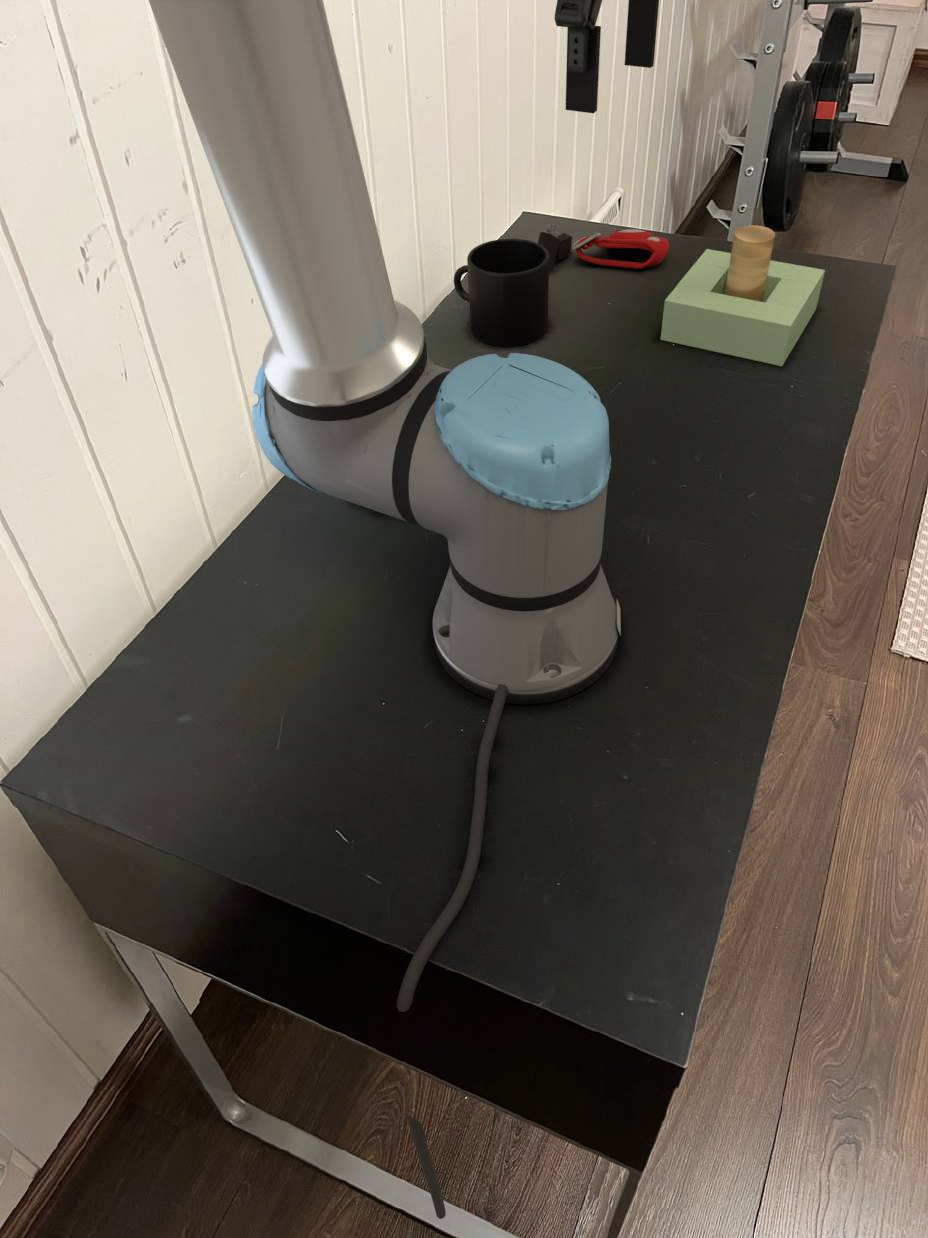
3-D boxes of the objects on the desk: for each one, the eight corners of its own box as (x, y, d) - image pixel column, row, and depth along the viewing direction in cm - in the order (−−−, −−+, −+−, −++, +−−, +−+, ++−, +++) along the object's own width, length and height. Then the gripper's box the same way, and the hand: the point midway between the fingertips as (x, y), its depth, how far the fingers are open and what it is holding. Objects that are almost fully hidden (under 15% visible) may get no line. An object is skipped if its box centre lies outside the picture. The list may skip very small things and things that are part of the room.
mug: (473, 300, 120) (470, 229, 113) (560, 317, 116) (562, 245, 109) (438, 334, 114) (432, 262, 108) (528, 354, 110) (528, 280, 103)
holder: (782, 366, 105) (790, 325, 102) (660, 339, 111) (664, 299, 107) (816, 309, 114) (825, 269, 110) (701, 287, 119) (706, 248, 116)
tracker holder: (629, 225, 130) (685, 229, 123) (627, 260, 132) (682, 265, 125) (564, 230, 124) (620, 235, 116) (563, 266, 126) (617, 272, 118)
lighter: (551, 272, 129) (561, 232, 127) (564, 275, 128) (575, 235, 126) (527, 261, 122) (538, 219, 120) (541, 264, 121) (552, 222, 120)
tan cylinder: (751, 336, 110) (768, 244, 102) (715, 329, 112) (729, 237, 104) (762, 319, 113) (780, 228, 105) (726, 312, 114) (741, 222, 107)
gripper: (609, -198, 63) (594, 137, 79) (728, -236, 78) (696, 52, 93) (510, -198, 66) (514, 126, 81) (643, -235, 81) (625, 45, 96)
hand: (611, 87), depth 87 cm, fingers open, 13 cm apart
